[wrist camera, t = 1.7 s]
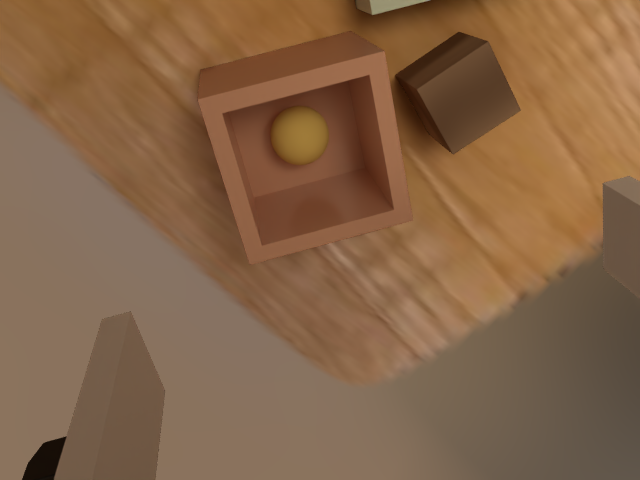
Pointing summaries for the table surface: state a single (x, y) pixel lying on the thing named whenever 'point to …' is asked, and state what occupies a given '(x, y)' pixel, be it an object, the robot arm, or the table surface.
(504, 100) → the walnut block
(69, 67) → the table surface
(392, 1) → the green tray
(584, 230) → the table surface
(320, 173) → the square terracotta box
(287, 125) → the yellow ball
